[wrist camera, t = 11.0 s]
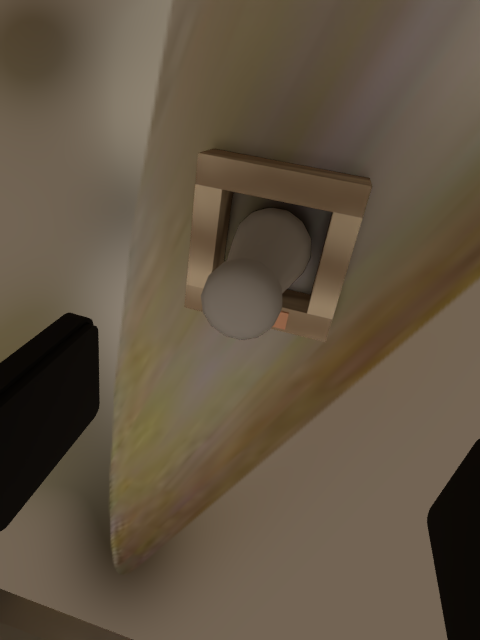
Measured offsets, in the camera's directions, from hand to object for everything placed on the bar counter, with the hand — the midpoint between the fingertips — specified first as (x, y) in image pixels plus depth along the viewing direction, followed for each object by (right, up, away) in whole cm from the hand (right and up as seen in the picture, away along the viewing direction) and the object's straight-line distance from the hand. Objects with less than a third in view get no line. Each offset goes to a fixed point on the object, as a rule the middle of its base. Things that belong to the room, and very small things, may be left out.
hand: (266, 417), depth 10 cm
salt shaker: (+2, +9, +22) cm, 24 cm away
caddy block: (+2, +9, +22) cm, 23 cm away
